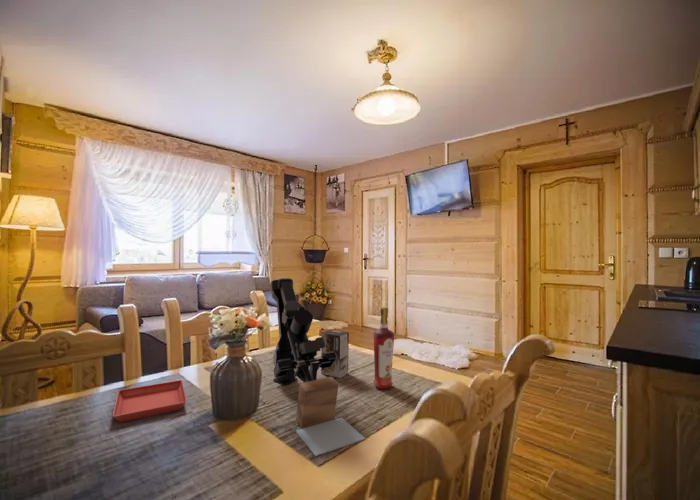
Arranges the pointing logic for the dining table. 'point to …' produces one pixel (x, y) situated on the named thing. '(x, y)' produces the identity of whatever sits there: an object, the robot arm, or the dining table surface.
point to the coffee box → (340, 346)
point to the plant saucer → (149, 400)
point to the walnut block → (316, 401)
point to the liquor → (383, 353)
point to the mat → (329, 436)
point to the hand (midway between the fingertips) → (314, 391)
